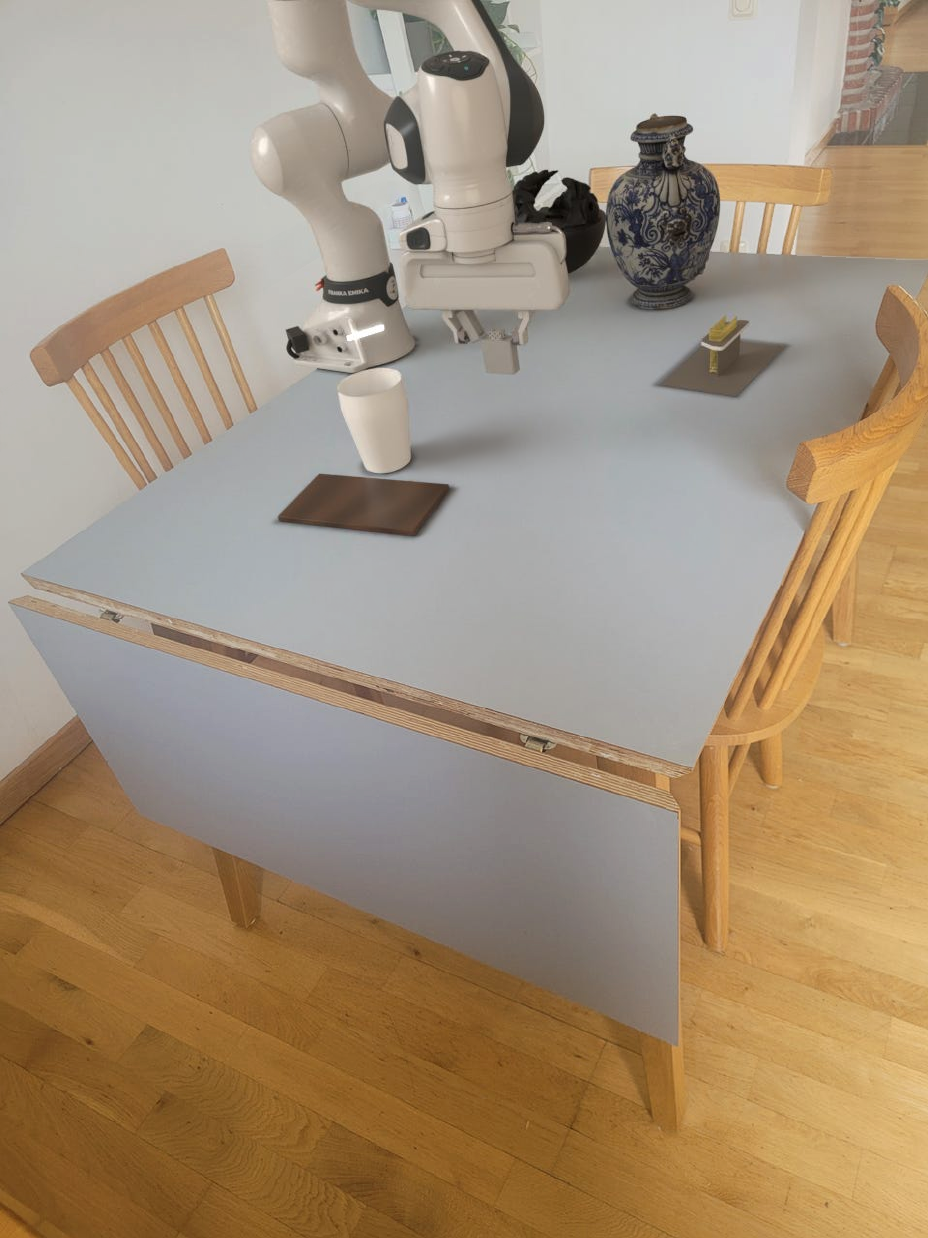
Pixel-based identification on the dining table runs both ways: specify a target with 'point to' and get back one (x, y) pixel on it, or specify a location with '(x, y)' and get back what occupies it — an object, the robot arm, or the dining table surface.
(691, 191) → the decorative vase
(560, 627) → the dining table surface
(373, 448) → the cup
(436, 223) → the robot arm
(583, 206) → the coal bowl
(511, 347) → the lighter
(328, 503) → the walnut board
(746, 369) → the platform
